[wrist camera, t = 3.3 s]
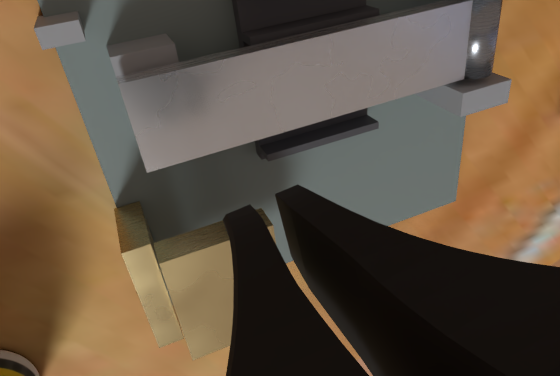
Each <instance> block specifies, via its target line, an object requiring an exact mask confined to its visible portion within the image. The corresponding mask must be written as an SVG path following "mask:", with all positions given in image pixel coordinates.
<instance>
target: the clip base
mask: <svg viewBox="0 0 560 376" xmlns="http://www.w3.org/2000/svg"><path fill="white" fill-rule="evenodd" d="M439 1H443V0H38V3H39V6H40V8H41V11H42V14H43V15H42V16H38V17H37V20H36V23H35V26H34V30H35V32H36V35H37V37H38V40H39V42H40V45H41V47H42V50H44V49H49V48H54V47H56V50H57V53H58V55H59V58H60V60H61V63H62V66H63V68H64V71H65V74H66V76H67V79H68V81H69V84H70V87H71V89H72V92H73V94H74V97H75V100H76V102H77V105H78V107H79V110H80V113H81V115H82V118H83V121H84V123H85V126H86V128H87V131H88V134H89V136H90V139H91V141H92V144H93V147H94V149H95V152H96V154H97V157H98V160H99V162H100V165H101V168H102V170H103V173H104V175H105V178H106V181H107V183H108V186H109V188H110V191H111V194H112V196H113V199H114V201H115V204H116V207H117V208H118V207H121V206H125V205H128V204H131V203H135V202H138V201H140V203H141V206H142V209H143V212H144V215H145V218H146V221H147V224H148V227H149V230H150V232H151V235H152V238H153V241H154V243H155V242H158V241H161V240H164V239H167V238H171V237H174V236H177V235H180V234H183V233H186V232H189V231H192V230H195V229H198V228H201V227H204V226H207V225H210V224H213V223H216V222H219V221H222V220H223V218H224V217H225V215H226V214H228V213H230V212H232V211H235V210H237V209H240V208H242V207H244V206H247V205H249V204H250V205H251V206H252V207H253V208H254V209H255V210H256V209H259V208H262V209H263V211H264V212H265V214H266V215H267V217H268V218H269V220H270V221H271V223H272V224H273V227H274V233H275V240H276V245H277V247H278V249H279V251H280V253H281V255H282V257H283V259H284V261H285V263H288V262H291V261H293V259H292V257H291V254H290V250H289V246H288V242H287V239H286V235H285V231H284V227H283V224H282V220H281V216H280V212H279V208H278V205H277V201H276V197H275V194H276V193H278V192H281V191H283V190H285V189H288V188H290V187H293V186H295V185H297V184H298V185H300V186H302V187H304V188H306V189H308V190H310V191H312V192H314V193H316V194H318V195H320V196H322V197H324V198H326V199H328V200H330V201H332V202H334V203H336V204H338V205H340V206H342V207H344V208H346V209H349V210H351V211H353V212H355V213H357V214H360V215H362V216H364V217H366V218H369V219H371V220H373V221H375V222H378V223H380V224H383V225H386V226H389V225H391V224H394V223H397V222H400V221H402V220H405V219H408V218H411V217H413V216H416V215H419V214H421V213H424V212H427V211H430V210H432V209H435V208H438V207H440V206H443V205H446V204H449V203H451V202H454V201H456V194H457V185H458V177H459V168H460V160H461V152H462V143H463V135H464V127H465V118H466V115H469V114H472V113H475V112H479V111H482V110H485V109H488V108H491V107H495V106H498V105H501V104H504V103H508V97H509V91H510V85H511V79H509V78H506V77H503V76H500V75H498V74H495V73H492V74H491V75H490V76H488V77H486V78H482V79H463V80H459V81H456V82H453V83H449V84H446V85H442V86H439V87H436V88H432V89H429V90H426V91H422V92H419V93H415V94H412V95H409V96H405V97H402V98H398V99H395V100H392V101H388V102H385V103H382V104H378V105H375V106H371V107H368V108H365V109H361V110H358V111H354V112H351V113H348V114H344V115H341V116H338V117H334V118H331V119H327V120H324V121H321V122H317V123H314V124H311V125H307V126H304V127H300V128H297V129H294V130H290V131H287V132H283V133H280V134H277V135H273V136H270V137H267V138H263V139H260V140H256V141H253V142H250V143H246V144H243V145H239V146H236V147H233V148H229V149H226V150H223V151H219V152H216V153H212V154H209V155H206V156H202V157H199V158H196V159H192V160H189V161H185V162H182V163H179V164H175V165H172V166H168V167H165V168H162V169H158V170H155V171H152V172H148V173H147V171H146V169H145V166H144V163H143V160H142V157H141V154H140V151H139V148H138V144H137V141H136V138H135V135H134V132H133V129H132V126H131V123H130V120H129V117H128V113H127V110H126V107H125V104H124V101H123V98H122V95H121V92H120V89H119V86H118V82H117V79H116V77H117V76H121V75H126V74H130V73H134V72H138V71H143V70H147V69H151V68H156V67H160V66H164V65H168V64H173V63H177V62H181V61H186V60H190V59H194V58H198V57H203V56H207V55H211V54H216V53H220V52H224V51H229V50H233V49H237V48H241V47H246V46H250V45H254V44H259V43H263V42H267V41H271V40H276V39H280V38H284V37H289V36H293V35H297V34H301V33H306V32H310V31H314V30H319V29H323V28H327V27H332V26H336V25H340V24H344V23H349V22H353V21H357V20H362V19H366V18H370V17H374V16H379V15H383V14H387V13H392V12H396V11H400V10H404V9H409V8H413V7H417V6H422V5H426V4H430V3H435V2H439Z"/></svg>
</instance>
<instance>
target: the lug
mask: <svg viewBox="0 0 560 376" xmlns="http://www.w3.org/2000/svg"><path fill="white" fill-rule="evenodd" d="M114 211H115V217H116V224H117V230H118V236H119V243H120V249H121V254H122V257H123V259H124V262H125V264H126V267H127V269H128V272H129V274H130V276H131V279H132V281H133V284H134V286H135V289H136V291H137V294H138V296H139V299H140V301H141V304H142V306H143V309H144V311H145V314H146V316H147V319H148V321H149V323H150V326H151V328H152V331H153V333H154V336H155V338H156V341H157V343H158V346H159V348H161V347H163V346H166V345H169V344H171V343H174V342H176V341H179V340H181V339H184V337H185V340H186V343H187V345H188V348H189V351H190V354H191V357H192V360H195V359H198V358H200V357H203V356H205V355H208V354H210V353H213V352H215V351H218V350H220V349H223V348H225V347H228V346H230V344H231V335H232V323H233V289H234V280H233V264H232V252H231V246H230V240H229V236H228V233H227V231H226V228H225V225H224V222H223V220H222V221H219V222H216V223H213V224H210V225H207V226H204V227H201V228H198V229H195V230H192V231H189V232H186V233H183V234H180V235H177V236H174V237H171V238H167V239H164V240H161V241H158V242H155V243H154V241H153V238H152V235H151V232H150V230H149V227H148V224H147V221H146V218H145V215H144V212H143V209H142V206H141V203H140V201H138V202H135V203H131V204H128V205H125V206H121V207H118V208H115V209H114ZM256 211H257V212H258V214H259V215H260V216H261V217H262V218H263V220H264V222H265V224H266V226H267V228H268V230H269V232H270V234H271V236H272V238H273V240H274V242H275V243H276V240H275V233H274V227H273V224H272V223H271V221H270V220H269V218H268V217H267V215H266V214H265V212H264V211H263V209H262V208H259V209H256ZM180 325H181V326H180ZM181 328H182V330H181ZM182 331H183V334H184V337H183V334H182Z"/></svg>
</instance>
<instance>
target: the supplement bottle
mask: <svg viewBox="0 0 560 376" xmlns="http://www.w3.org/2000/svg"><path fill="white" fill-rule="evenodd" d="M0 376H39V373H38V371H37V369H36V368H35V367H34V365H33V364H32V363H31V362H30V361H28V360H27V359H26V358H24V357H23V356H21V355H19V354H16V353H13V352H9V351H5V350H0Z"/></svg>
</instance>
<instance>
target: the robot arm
mask: <svg viewBox="0 0 560 376" xmlns="http://www.w3.org/2000/svg"><path fill="white" fill-rule="evenodd" d="M275 197H276V201H277V205H278V208H279V212H280V216H281V220H282V224H283V227H284V231H285V235H286V239H287V242H288V246H289V250H290V254H291V257H292V259H293V260H294V262H295V264H296V266H297V268H298V269H299V271H300V273H301V275H302V276H303V278H304V280H305V282H306V283H307V285H308V287H309V288H310V290H311V291H312V293H313V294H314V295H315V297H316V298H317V299H318V301H319V302H320V304H321V305H322V306H323V308H324V309H325V310H326V312H327V313H328V314H329V316H330V317H331V318H332V320H333V321H334V322H335V324H336V325H337V326H338V328H339V329H340V330H341V332H342V333H343V334H344V336H345V337H346V338H347V340H348V341H349V342H350V344H351V345H352V346H353V348H354V349H355V350H356V352H357V353H358V355H359V356H360V357H361V359H362V360H363V361H364V363H365V364H366V366H367V367H368V369H369V370H370V372H371V373H372V375H373V376H560V267H554V266H547V265H540V264H533V263H526V262H520V261H515V260H509V259H503V258H498V257H493V256H489V255H484V254H479V253H475V252H470V251H466V250H462V249H458V248H454V247H450V246H446V245H443V244H439V243H436V242H433V241H429V240H426V239H422V238H419V237H416V236H413V235H410V234H407V233H404V232H401V231H399V230H396V229H394V228H391V227H388V226H386V225H383V224H380V223H378V222H375V221H373V220H371V219H369V218H366V217H364V216H362V215H360V214H357V213H355V212H353V211H351V210H349V209H346V208H344V207H342V206H340V205H338V204H336V203H334V202H332V201H330V200H328V199H326V198H324V197H322V196H320V195H318V194H316V193H314V192H312V191H310V190H308V189H306V188H304V187H302V186H300V185H298V184H297V185H295V186H293V187H290V188H288V189H285V190H283V191H281V192H278V193H276V194H275ZM223 222H224V225H225V228H226V231H227V233H228V236H229V240H230V246H231V252H232V264H233V280H234V289H233V323H232V335H231V344H230V353H229V359H228V366H227V373H226V376H369V375H368V374H367V373H366V372H365V370H364V369H363V368H362V367H361V366H360V364H359V363H358V362H357V361H356V359H355V358H354V357H353V356H352V355H351V353H350V352H349V351H348V350H347V349H346V347H345V346H344V345H343V344H342V343H341V341H340V340H339V339H338V338H337V336H336V335H335V334H334V332H333V331H332V330H331V329H330V327H329V326H328V325H327V324H326V322H325V321H324V320H323V318H322V317H321V316H320V315H319V313H318V312H317V311H316V309H315V308H314V306H313V305H312V304H311V302H310V301H309V300H308V298H307V297H306V296H305V294H304V293H303V292H302V290H301V289H300V287H299V286H298V284H297V283H296V281H295V279H294V278H293V276H292V274H291V273H290V271H289V269H288V267H287V265H286V263H285V261H284V259H283V257H282V255H281V253H280V251H279V249H278V247H277V245H276V243H275V242H274V240H273V238H272V236H271V234H270V232H269V230H268V228H267V226H266V224H265V222H264V220H263V218H262V217H261V216H260V215H259V214H258V212H257V211H256V210H255V209H254V208H253V207H252V206H251V205H250V204H249V205H247V206H244V207H242V208H240V209H237V210H235V211H232V212H230V213H228V214H226V215H225V217H224V218H223Z"/></svg>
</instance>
